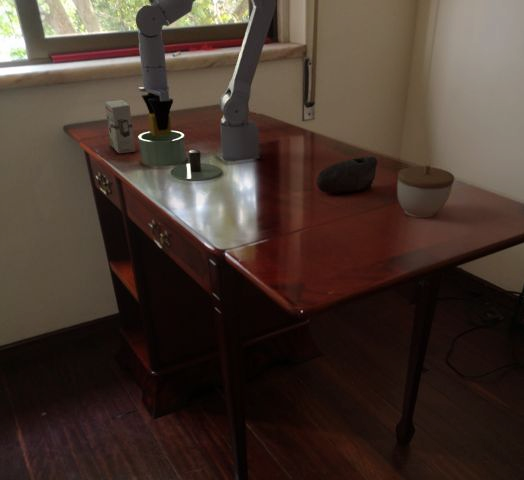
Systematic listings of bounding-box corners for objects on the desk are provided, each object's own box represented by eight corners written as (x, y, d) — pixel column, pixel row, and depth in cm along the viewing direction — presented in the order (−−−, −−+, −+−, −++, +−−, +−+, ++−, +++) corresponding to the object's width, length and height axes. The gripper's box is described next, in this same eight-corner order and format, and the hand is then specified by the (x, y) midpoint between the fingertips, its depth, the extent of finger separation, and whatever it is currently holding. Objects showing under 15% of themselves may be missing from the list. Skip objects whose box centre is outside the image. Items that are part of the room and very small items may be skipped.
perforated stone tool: (320, 199, 115) (322, 166, 111) (310, 191, 119) (312, 159, 115) (381, 191, 119) (385, 159, 115) (369, 184, 123) (373, 153, 119)
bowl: (178, 153, 143) (176, 128, 140) (191, 165, 135) (189, 138, 131) (137, 158, 139) (133, 133, 136) (148, 170, 131) (144, 143, 127)
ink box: (110, 146, 149) (103, 101, 142) (127, 144, 151) (121, 99, 144) (118, 154, 143) (111, 107, 136) (136, 151, 145) (130, 105, 138)
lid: (211, 165, 135) (209, 142, 132) (228, 179, 126) (227, 155, 123) (164, 171, 131) (162, 147, 127) (179, 186, 122) (177, 161, 118)
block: (166, 130, 135) (164, 112, 133) (171, 134, 132) (169, 115, 129) (149, 132, 134) (147, 113, 131) (154, 136, 130) (152, 117, 128)
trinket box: (437, 226, 103) (447, 178, 97) (385, 215, 107) (391, 168, 102) (452, 209, 110) (462, 163, 105) (403, 199, 115) (410, 155, 109)
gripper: (129, 63, 128) (137, 122, 136) (144, 71, 117) (152, 135, 125) (157, 61, 131) (163, 120, 138) (175, 69, 120) (180, 132, 128)
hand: (160, 127), depth 132 cm, fingers closed on block, 4 cm apart
